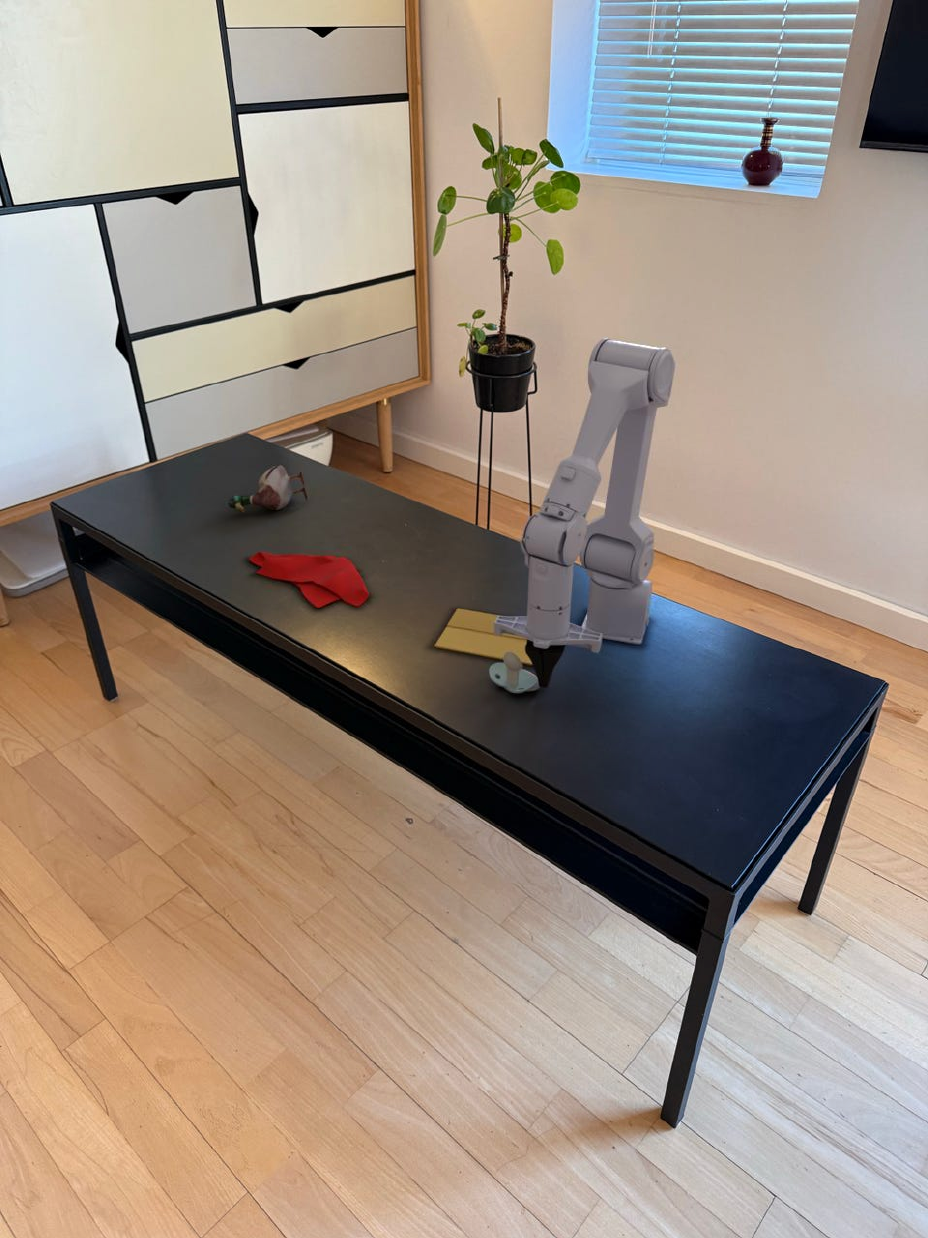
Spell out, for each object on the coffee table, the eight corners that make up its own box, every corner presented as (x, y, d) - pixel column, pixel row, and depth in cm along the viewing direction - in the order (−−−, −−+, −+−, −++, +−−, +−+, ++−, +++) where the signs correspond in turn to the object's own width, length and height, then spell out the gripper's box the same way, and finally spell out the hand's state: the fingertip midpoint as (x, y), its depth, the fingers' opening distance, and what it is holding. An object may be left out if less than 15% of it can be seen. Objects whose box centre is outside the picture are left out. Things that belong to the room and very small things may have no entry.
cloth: (396, 588, 148) (395, 576, 147) (330, 619, 140) (329, 607, 139) (304, 538, 164) (303, 527, 163) (240, 563, 156) (238, 552, 155)
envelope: (554, 627, 138) (555, 624, 138) (537, 666, 129) (537, 663, 129) (458, 610, 143) (457, 607, 142) (434, 647, 134) (434, 644, 133)
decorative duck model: (225, 495, 165) (218, 462, 177) (235, 530, 169) (227, 496, 181) (304, 478, 168) (292, 447, 180) (312, 513, 172) (300, 480, 184)
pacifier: (510, 666, 130) (483, 683, 126) (512, 630, 126) (484, 646, 123) (550, 686, 125) (523, 705, 122) (553, 649, 122) (526, 667, 118)
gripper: (487, 605, 115) (486, 689, 122) (598, 624, 111) (590, 710, 118) (502, 580, 121) (500, 661, 128) (608, 597, 117) (600, 680, 124)
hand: (544, 683), depth 124 cm, fingers closed
